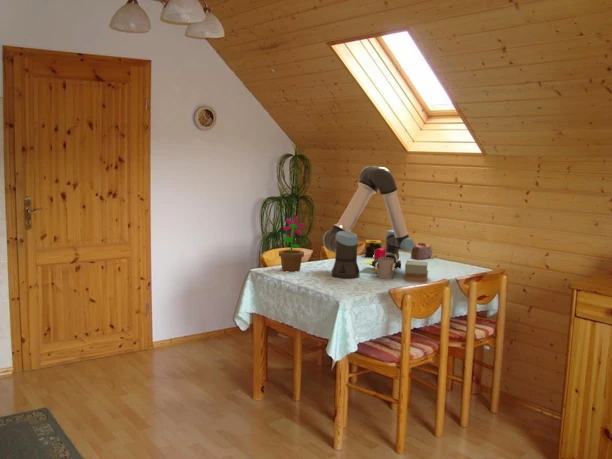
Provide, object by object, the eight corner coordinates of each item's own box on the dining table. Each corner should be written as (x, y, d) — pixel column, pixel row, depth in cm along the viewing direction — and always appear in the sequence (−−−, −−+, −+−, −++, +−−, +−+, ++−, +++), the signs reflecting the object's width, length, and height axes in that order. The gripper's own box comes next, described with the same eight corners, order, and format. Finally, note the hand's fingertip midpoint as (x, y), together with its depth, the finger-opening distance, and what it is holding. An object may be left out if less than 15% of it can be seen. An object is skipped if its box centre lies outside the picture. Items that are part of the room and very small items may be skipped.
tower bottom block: (425, 282, 333) (426, 274, 332) (404, 280, 335) (405, 272, 335) (427, 278, 343) (427, 270, 342) (407, 276, 346) (407, 268, 345)
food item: (422, 256, 409) (423, 241, 407) (433, 258, 403) (433, 242, 401) (409, 258, 399) (410, 243, 398) (419, 260, 394) (420, 244, 392)
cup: (380, 278, 338) (381, 260, 336) (375, 275, 345) (375, 257, 344) (395, 278, 340) (396, 259, 338) (389, 275, 348) (390, 257, 346)
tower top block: (426, 274, 332) (426, 265, 332) (404, 272, 335) (405, 264, 334) (427, 270, 343) (427, 261, 342) (406, 268, 345) (406, 260, 345)
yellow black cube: (380, 255, 407) (381, 240, 406) (381, 258, 397) (381, 242, 396) (365, 254, 408) (365, 239, 407) (364, 257, 398) (365, 242, 397)
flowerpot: (306, 268, 360) (307, 216, 355) (300, 273, 346) (301, 218, 342) (282, 266, 363) (283, 214, 359) (274, 271, 349) (275, 217, 345)
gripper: (408, 267, 357) (404, 275, 335) (370, 265, 362) (364, 272, 340) (408, 254, 356) (404, 261, 334) (371, 252, 361) (365, 259, 339)
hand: (384, 267), depth 337 cm, fingers closed on cup, 8 cm apart
